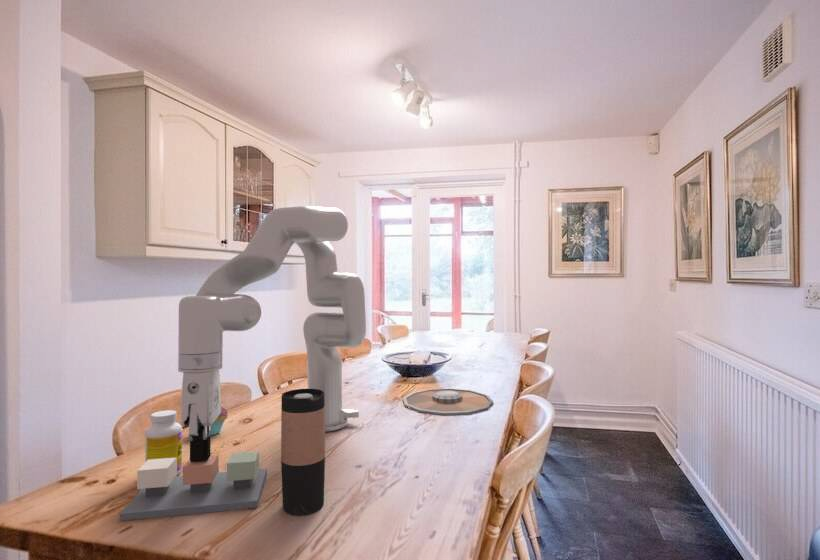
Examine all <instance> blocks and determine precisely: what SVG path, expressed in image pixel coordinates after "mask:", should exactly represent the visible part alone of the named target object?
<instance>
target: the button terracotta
mask: <svg viewBox="0 0 820 560" xmlns="http://www.w3.org/2000/svg"><path fill="white" fill-rule="evenodd" d="M219 455H220V453H218V454H210V457H209V459H208V460H207V461H198V462H191V461H190V457H188V459H187V461H186V462H185V463H184V465H182V475H183V485H191V484H202V483H212V482H213V480H214V479H215V477H216V475H217V473H218V472H220V470H219V466H220V465H219V459H220V457H219Z"/></svg>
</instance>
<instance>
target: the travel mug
mask: <svg viewBox="0 0 820 560" xmlns="http://www.w3.org/2000/svg"><path fill="white" fill-rule="evenodd" d="M324 405H325V404H324V392H323V391H322V390H319V389H307V388H297V389H292V390H288V391H284V392H283V393H282V394H281V405H280V407H281V416H280V417H281V425H280V426H281V427H280V429H281V430H280V431H281V432H280V433H281V434H280V435H281V437H280V442H281V443H280V445H281V447H280V453H281V454H280V461H281V462H280V464H281V465H280V469H281V470H280V471H281V493H282V496H281V497H282V509H283V511H284V513H285V514H287V515H289V514H290V516H293V515H296V517H300V516H301V517H302V516H303V515H304V516H309V515H312V514H314V513H317V512H318V511H319V510H321V509H322V508H323V506H324V503H325V502H324V501H325V482H326V481H325V477H326V476H325V475H326V472H325V471H326V432H325V406H324Z"/></svg>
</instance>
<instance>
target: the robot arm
mask: <svg viewBox="0 0 820 560" xmlns="http://www.w3.org/2000/svg"><path fill="white" fill-rule="evenodd" d="M348 227H349V223H348V218H347V216H346V215H345V213H344V212H343V211H342V210H341V209H339V208H338V207H324V206H311V205H302V206H300V205H299V206H291V207H278V208H274V209H272V210H271V211H269V212H268V213H267V214H266V216H265V217H264V218H263V220H262V221H261V223H260V224H259V226H258V228H257V230H256V231H255V232H254V234H253V236H252V237H251V239H250V241H248V243H247V245H246V247H245V248H244V250H243V251H242V252H240V253H239V254H237V255H235V256H234V257H232V258H230V260H227V262H226V263H224V264H222V265H221V266H220V267H219V268H217V269H216V270H215V271H213V272H212V273H211V274H210V275H209V276H208V278H207V279H206V280H205V281H204V283H203V284H202V286H201V287H200V288H199V290H198V292H197V293H196V295H189V296H184V297H182V298H181V299H180V301H179V303H178V341H177V342H178V347H177V348H178V349H177V350H178V353H177V354H178V357H177V359H178V360H177V361H178V362H177V364H178V366H177V367H178V368H177V371H178V372H179V373H182V383H181V398H180V399H181V402H180V403H181V404H180V405H181V406H180V408H181V409H180V417H181V418H180V421H181V427H182V428H185V429H186V428H188V437H189V458H190V461H191V462H198V461H207V460H208V459H209V457H210V455H211V439H212V438H211V436H212V435H211V436H210V430H211V424H212V423H213V422H214V421H215V420H216V419H217V417H218V416H219V415H220V413H221V407H222V400H221V399H222V396H221V377H220V376H221V375H220V370H221V369H223V346H224V345H223V338H224V337H223V334H224V332H245V331H248V330H251V329H252V328H254V327H255V326H256V325H257V324H258V323H259V322H260V319H261V316H262V308H261V305H260V303H259V302H258V300H257V299H255V298H254V296H253V297H252V296H250V295H248V294H241V293H239V294H237V292H238V291H239V290H242V289H243V288H245V287H247V286H250V285H251V284H254V283H256V282H259V281H262V280H264V279H266V278H269V277H271V276H273V275H274V274H276V273H277V272H279V270H280V268H281V266H282V265H283V262H284V261H285V259H286V257H287V255H288V253H289V251H291V250H290V249H291V247H292V246H293V245H294V244H296V245H297V246H298V248H299V249H300V250H301V252H302V254H303V257H304V261H305V262H304V263H305V275H306V276H305V278H306V280H305V281H306V295H307V299H308V303H310V304H311V305H312V306H314V307H317V308H318V307H319V308H341V310H342V311H341V312H340V311H317V312H314V313H311V314H309V315H307V317H306V318H305V320H304V322H303V327H302V331H303V336H304V342H305V347H306V348H305V349H306V361H307V362H306V363H307V365H306V366H307V367H306V368H307V370H306V371H307V373H306V374H307V385H306V386H307V388H306V389H319V390H322V391H323V392H324V404H325V405H324V406H325V433H326V432H333V431H337V430H341V429H343V428H345V427H347V425H348V421H349V420H348V419H349V418H352V419H355V418H359V415H360V413H359V410H357V409H356V410H354V409H353V408H352V409H346V408H344V405H343V360H342V358H341V355H340V352H339V351H338V349H337V347H338V348H357V347H359V346H361V345H362V344H363V342H364V341H365V337H366V332H367V328H366V327H367V322H366V321H367V320H366V300H365V299H366V296H365V295H366V294H365V287H364V283H363V281H362V279H361V278H360V277H359V276H358V275H357V274H355V273H351V272H338V264H337V255H336V252H335V249H334V248H333V246H332V244H330V242H338V241H340V240H342V239H343V238H344V237H345V236H346V234H347V232H348Z"/></svg>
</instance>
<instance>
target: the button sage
mask: <svg viewBox="0 0 820 560" xmlns="http://www.w3.org/2000/svg"><path fill="white" fill-rule="evenodd" d="M258 469H260V451H247V452H246V451H244V452H233V453H232V452H231V455H230V457H229V458H228V460H227V462H226V472H227V481H237V480H248V479H255V478H256V475H257V472H258Z"/></svg>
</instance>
